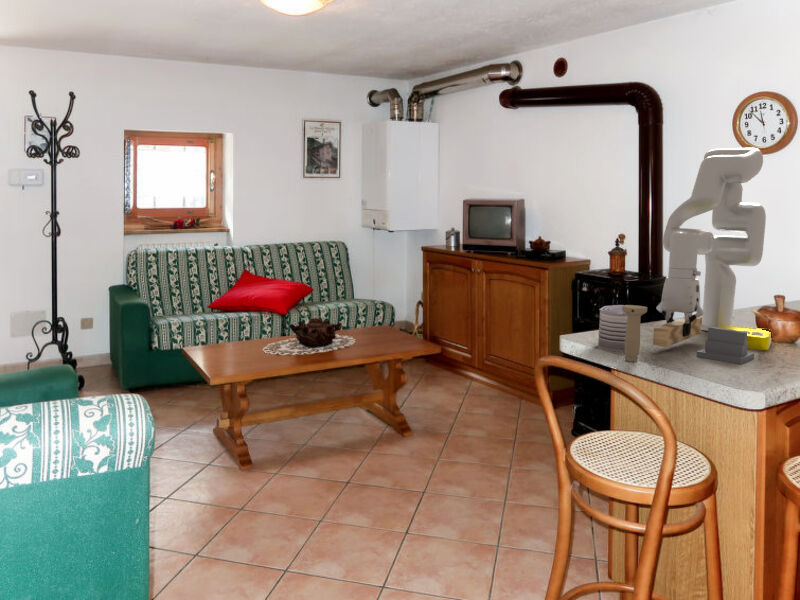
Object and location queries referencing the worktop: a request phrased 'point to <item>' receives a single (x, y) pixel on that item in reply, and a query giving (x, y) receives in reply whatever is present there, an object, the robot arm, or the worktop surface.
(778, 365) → the worktop surface
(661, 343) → the oak batten
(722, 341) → the fulcrum stand
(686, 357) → the worktop surface
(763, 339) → the element tile
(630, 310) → the handle
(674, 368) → the worktop surface
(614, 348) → the can
